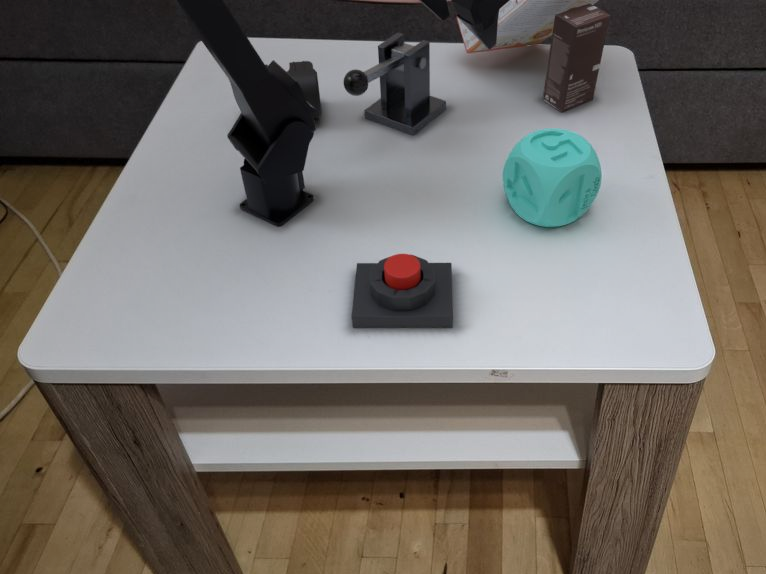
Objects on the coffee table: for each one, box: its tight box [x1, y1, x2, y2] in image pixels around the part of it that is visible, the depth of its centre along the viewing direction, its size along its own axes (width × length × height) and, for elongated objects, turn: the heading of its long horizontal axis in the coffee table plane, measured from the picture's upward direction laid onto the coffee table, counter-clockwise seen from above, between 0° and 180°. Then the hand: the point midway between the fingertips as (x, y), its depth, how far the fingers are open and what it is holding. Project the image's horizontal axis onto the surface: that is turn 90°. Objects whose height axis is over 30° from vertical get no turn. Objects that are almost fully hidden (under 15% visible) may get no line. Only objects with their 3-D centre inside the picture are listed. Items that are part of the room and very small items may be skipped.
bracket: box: [363, 32, 447, 137], centre depth 99 cm, size 8×8×10 cm
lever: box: [343, 42, 415, 97], centre depth 93 cm, size 13×3×3 cm, turn 145°
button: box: [384, 253, 421, 290], centre depth 75 cm, size 4×4×2 cm
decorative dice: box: [502, 128, 602, 228], centre depth 85 cm, size 8×8×8 cm
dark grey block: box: [265, 60, 323, 120], centre depth 100 cm, size 10×7×7 cm
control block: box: [351, 254, 454, 329], centre depth 77 cm, size 10×8×4 cm
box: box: [542, 3, 611, 113], centre depth 99 cm, size 6×4×12 cm
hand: (468, 31), depth 89 cm, fingers open, 9 cm apart
